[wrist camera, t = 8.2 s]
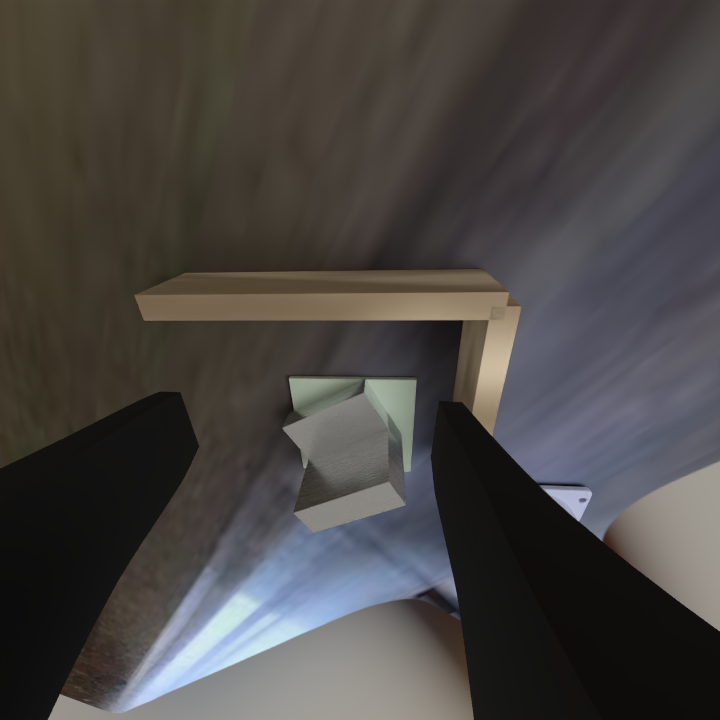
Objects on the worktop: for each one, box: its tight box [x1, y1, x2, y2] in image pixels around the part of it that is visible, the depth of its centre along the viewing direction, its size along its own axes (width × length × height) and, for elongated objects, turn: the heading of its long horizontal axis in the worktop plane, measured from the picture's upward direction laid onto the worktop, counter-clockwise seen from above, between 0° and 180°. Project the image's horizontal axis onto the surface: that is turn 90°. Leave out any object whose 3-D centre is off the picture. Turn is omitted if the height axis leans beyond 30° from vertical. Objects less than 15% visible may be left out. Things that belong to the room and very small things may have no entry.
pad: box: [289, 376, 417, 472], centre depth 22 cm, size 8×8×1 cm
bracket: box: [282, 379, 406, 533], centre depth 19 cm, size 6×5×6 cm
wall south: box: [452, 296, 521, 436], centre depth 18 cm, size 12×1×4 cm, turn 2°
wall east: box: [134, 269, 509, 321], centre depth 15 cm, size 1×16×4 cm, turn 91°
